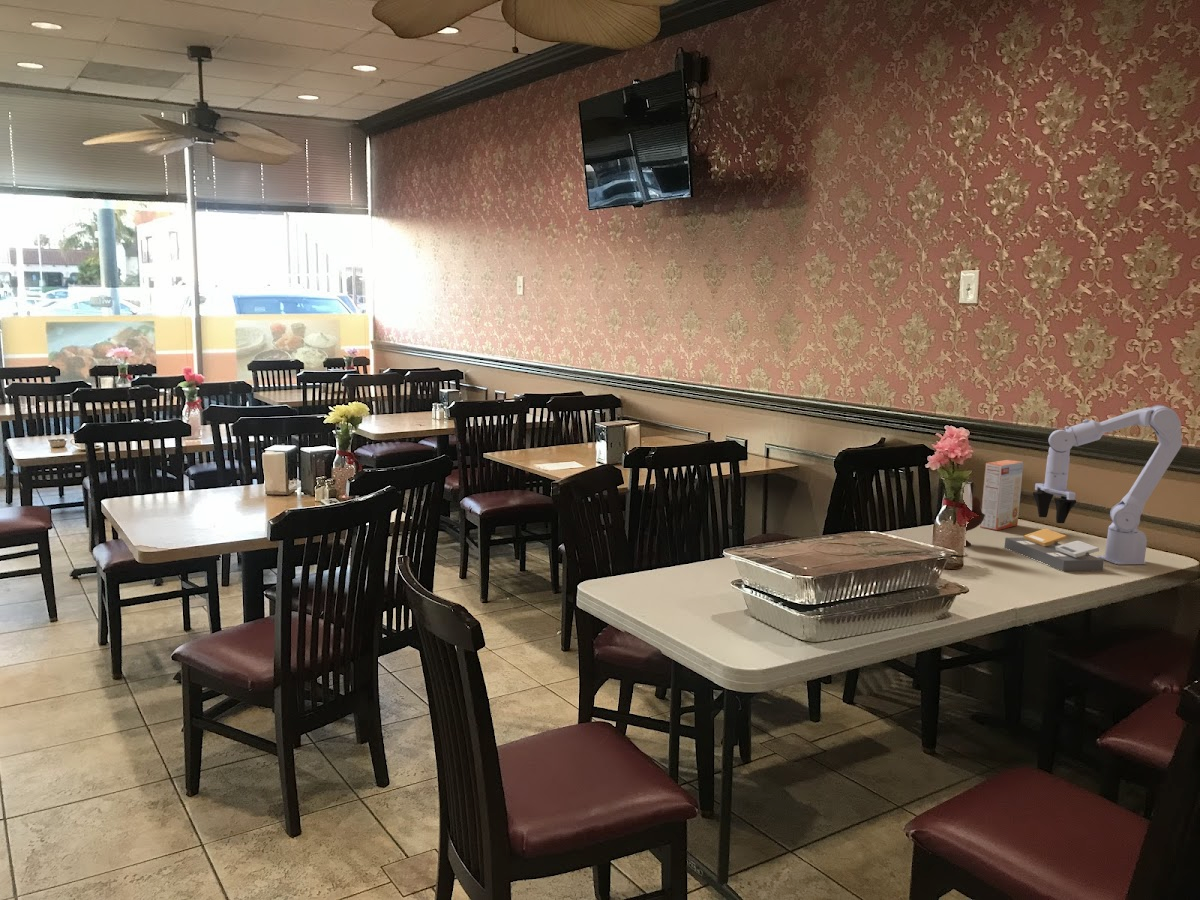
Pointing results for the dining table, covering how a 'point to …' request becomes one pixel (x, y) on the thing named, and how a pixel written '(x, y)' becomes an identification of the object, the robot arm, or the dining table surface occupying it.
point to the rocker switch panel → (1054, 556)
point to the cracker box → (1001, 494)
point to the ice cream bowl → (976, 520)
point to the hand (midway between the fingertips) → (1051, 520)
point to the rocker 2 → (1077, 549)
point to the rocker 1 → (1045, 537)
